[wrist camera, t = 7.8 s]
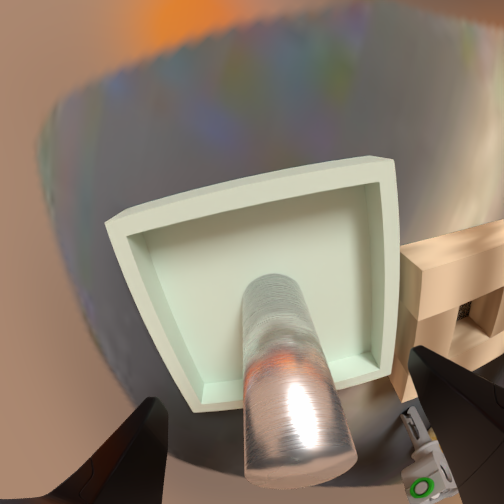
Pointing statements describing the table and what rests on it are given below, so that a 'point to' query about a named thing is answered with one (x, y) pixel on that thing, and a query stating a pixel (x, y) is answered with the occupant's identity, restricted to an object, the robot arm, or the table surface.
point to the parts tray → (267, 269)
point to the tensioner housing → (450, 300)
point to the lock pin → (288, 392)
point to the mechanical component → (426, 466)
